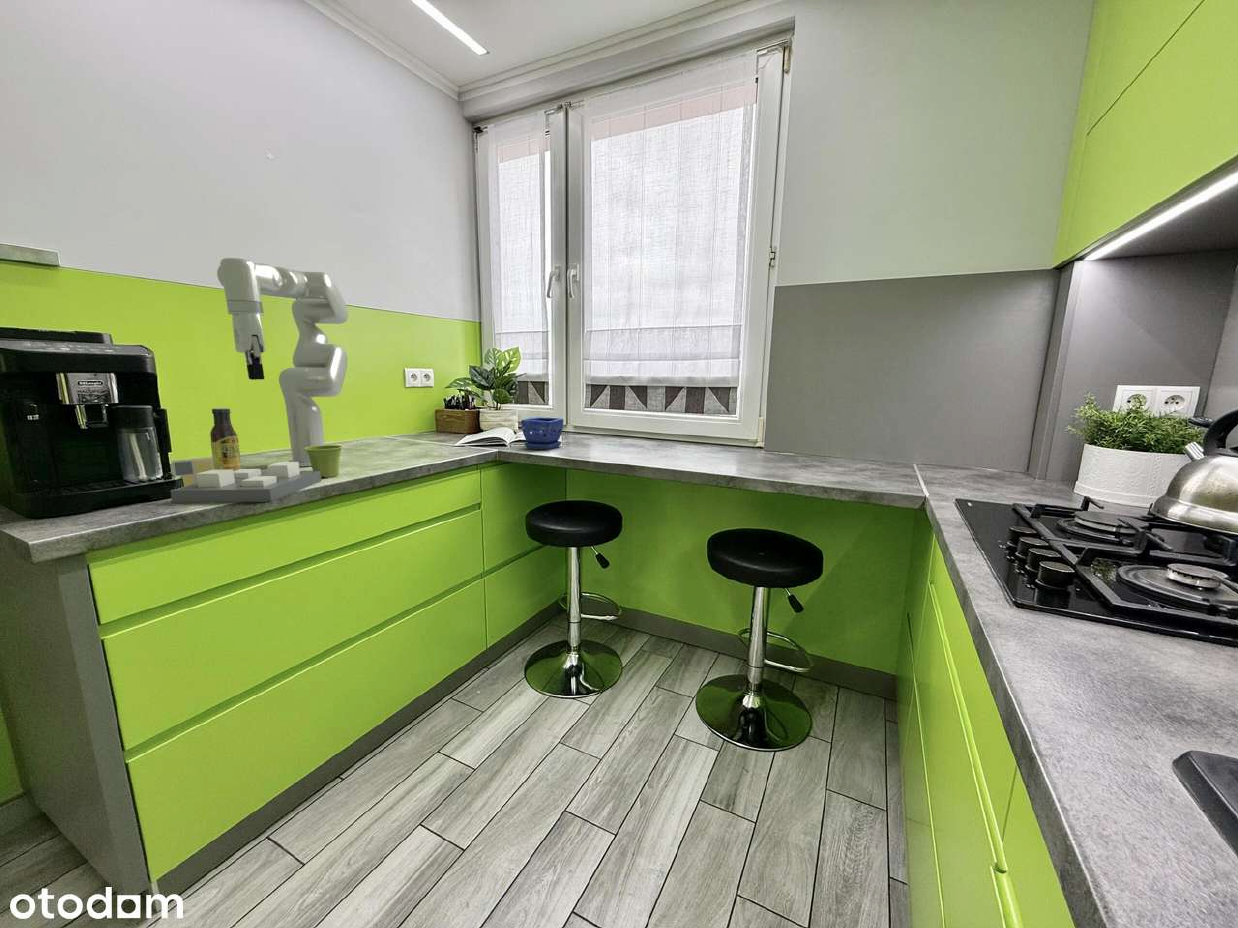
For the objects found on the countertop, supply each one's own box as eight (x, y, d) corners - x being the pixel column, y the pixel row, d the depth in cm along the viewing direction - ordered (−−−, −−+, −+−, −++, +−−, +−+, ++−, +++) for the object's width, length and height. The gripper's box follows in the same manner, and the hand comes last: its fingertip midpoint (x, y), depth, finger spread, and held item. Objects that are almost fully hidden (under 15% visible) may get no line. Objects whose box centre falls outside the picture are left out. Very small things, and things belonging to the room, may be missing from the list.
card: (176, 491, 123) (171, 460, 122) (216, 486, 128) (212, 457, 127) (176, 492, 123) (171, 461, 121) (217, 487, 128) (212, 457, 126)
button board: (238, 482, 134) (237, 471, 133) (321, 481, 135) (320, 470, 135) (172, 503, 112) (170, 490, 112) (271, 501, 114) (269, 489, 113)
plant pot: (332, 471, 148) (329, 444, 147) (352, 474, 144) (349, 446, 142) (301, 477, 140) (297, 448, 138) (321, 480, 136) (317, 450, 134)
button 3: (257, 491, 121) (255, 476, 121) (278, 491, 122) (276, 476, 121) (243, 496, 116) (241, 480, 116) (265, 496, 117) (263, 480, 116)
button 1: (214, 485, 120) (211, 469, 120) (235, 485, 121) (233, 469, 120) (198, 490, 115) (196, 473, 115) (220, 489, 116) (218, 473, 115)
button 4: (281, 476, 131) (279, 462, 130) (300, 476, 131) (298, 461, 130) (269, 480, 126) (267, 465, 125) (289, 480, 126) (287, 465, 126)
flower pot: (565, 446, 201) (564, 417, 199) (549, 451, 189) (548, 420, 186) (537, 444, 206) (536, 416, 203) (520, 449, 193) (519, 419, 191)
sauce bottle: (227, 479, 137) (216, 409, 134) (209, 478, 138) (198, 409, 135) (248, 474, 144) (239, 407, 140) (231, 473, 145) (221, 407, 141)
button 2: (243, 483, 130) (241, 469, 130) (262, 483, 131) (260, 468, 130) (229, 487, 126) (227, 472, 125) (250, 487, 126) (247, 472, 125)
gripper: (221, 309, 130) (233, 378, 134) (234, 306, 120) (247, 381, 124) (255, 311, 135) (265, 377, 139) (270, 308, 125) (281, 380, 130)
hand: (256, 379), depth 132 cm, fingers closed
